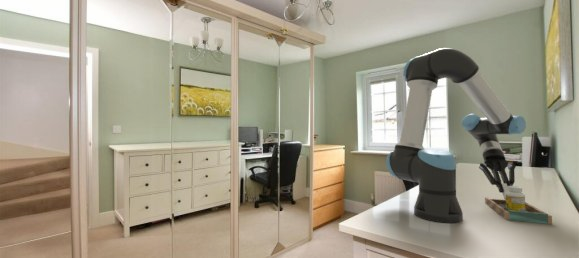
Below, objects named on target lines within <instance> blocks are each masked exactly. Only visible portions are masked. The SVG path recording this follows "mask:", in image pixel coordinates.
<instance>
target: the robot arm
mask: <svg viewBox="0 0 579 258" xmlns="http://www.w3.org/2000/svg"><path fill="white" fill-rule="evenodd" d="M479 70H480V67H479V65H478V64H477V63H476V62H475V60H474V59H472V58H471V57H470V56H469V55H468V54H466V53H464V52H462V51H461V50H458V49H455V48H451V47H443V48H438V49H435V50H433V51H430V52H428V53H424V54H422V55H417V56H415V57H412V58H411V59H409V60H408V61H407V62H406V63H405V65H404V67H403V72H402V75H403V77H404V81H405V82H406V86H407V87H408V88H409V91H408V97H407V100H406V101H407V102H406V107H405V113H404V118H403V121H402V122H403V124H402V129H401V134H400V137H399V138H400V140H399V142H397V143H396V144H395V146H394V149H393V150H392V151H389V153H388V154H387V156H386V161H385V167H386V168H387V171H388V172H389V174H390V175H391V176H392V177H394V178H395V179H396V178H397V179H400V180H403V181H408V182H413V183H417V184H418V195H417V198H416V200H415V203H414V206H413V207H414V208H413V214H414V215H415V216H417V217H419V218H421V219H423V220H427V221H432V222H438V223H449V224H450V223H460V222H462V221H463V219H464V217H463V216H464V215H463V214H464V213H463V210H462V208H461V204H460V202H459V200H458V197H457V164H456V157H455V156H454V154H453V153H451V152H449V151H444V150H438V149H425V147H424V145H423V144H424V138H425V131H426V127H427V121H428V116H429V110H430V105H431V104H430V103H431V99H432V93H433V91H434V90H435V89H437V87H438V84H439V83H438V82H439V80H441V79H448V80H449V79H450V80H451V81H452V83H453V84H456V85H457V84H458V85H459V87H460V88H461V89H462V90H463V91H464V93H465V94H466V95H467V96H468V97H469V98H470V100H471V101H472V102H473V104H475V106H476V107H477V108H478V109H479V111H480V112H481V113H482V114H483V116H484V117H480V116H479V115H478V114H475V113H470V114H467V115H465V116H464V117H463V118H462V120H461V121H460V122H461V123H460V124H461V126H462V127H463V128H464V130H465V131H466V132H468V133H469V134H470V135H471V137H473V138H474V139H475V140H476V141H477V142H478V144H479V145H478V146H479V148H480V152H481V155H482V158H483V163H482V162H481V163H480V164H479V166H478V168H479V169H480V170H481V171H482V172H483V174H484V175H485V177H486V178H487V180H488V182H489V183H490V184H491V186H496V188H497V189H498V192H499V193H502V196H503V200H505V201H506V192H508V191H509V190H508V186H514V184H515V183H516V181H515V180H516V179H515V178H516V177H515V170H516V168H517V167H516V166H517V165H516V164H514V163H513V164H510V163H509V162H508V161H507V159H506V155H504V151H503V149H502V146H501V143H500V141H499V138H498V135H509V136H511V135H520V134H523V133H524V132H525V130H526V127H527V121H526V120H525V118H524V116H521V115H512V114H511V112H510V110H508V108H507V107H506V105H504V103H503V102H502V101H501V99H500V98H499V97H498V96H497V94H496V92H494V90H493V89H492V87H490V85H489V84H488V82H487V81H486V80H485V78H484V77H483V76H482V74H481V73H480V72H479ZM506 169H508V174H507V173H506Z"/></svg>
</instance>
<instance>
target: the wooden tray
mask: <svg viewBox="0 0 579 258" xmlns="http://www.w3.org/2000/svg"><path fill="white" fill-rule="evenodd" d="M484 202H485V204H486V205H487V206H488V207H489V208H491V209H492V210H493V211H494V212H496V213H497V214H498V215H500V216H501V217H502V218H503V219H504V220H506V221H516V222H517V221H518V222H527V223H537V224H548V225H553V216H552V215H550V214H549V213H547V212H545V211H543V210H541V209H540V208H537V207H536V206H534V205H532V204H529V203H528V202H526V201H525V212H524V211H512V210H508V211H506V201H505V199H499V198H497V199H496V198H489V197H488V196H485V197H484Z"/></svg>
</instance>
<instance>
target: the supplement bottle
mask: <svg viewBox="0 0 579 258" xmlns="http://www.w3.org/2000/svg"><path fill="white" fill-rule="evenodd" d="M508 190H509V191H508V192H506V211H508V210H512V211H524V212H526V211H525V202H526V196H525V194H524V193H522V192H523V187H520V186H516V185H513V186H508Z"/></svg>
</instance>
